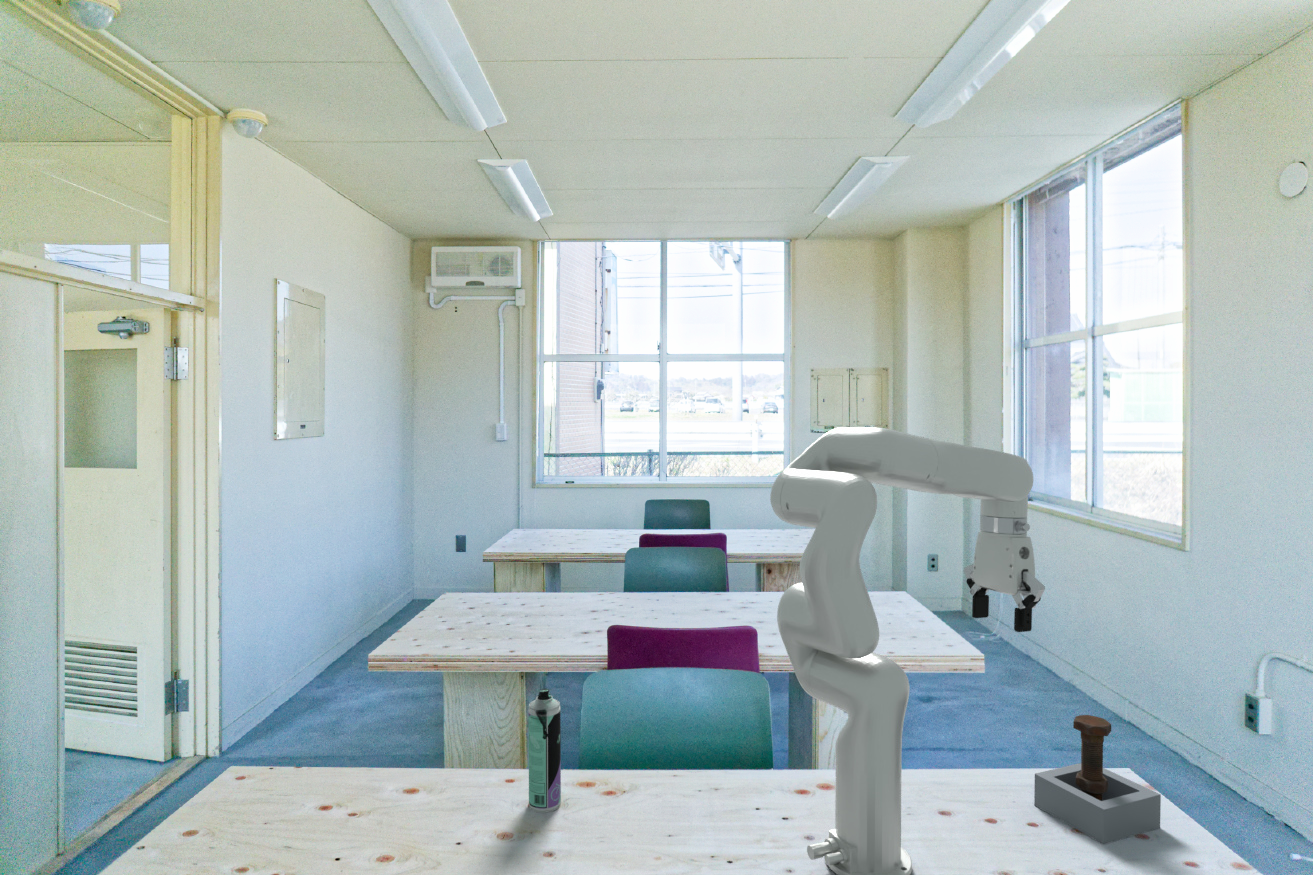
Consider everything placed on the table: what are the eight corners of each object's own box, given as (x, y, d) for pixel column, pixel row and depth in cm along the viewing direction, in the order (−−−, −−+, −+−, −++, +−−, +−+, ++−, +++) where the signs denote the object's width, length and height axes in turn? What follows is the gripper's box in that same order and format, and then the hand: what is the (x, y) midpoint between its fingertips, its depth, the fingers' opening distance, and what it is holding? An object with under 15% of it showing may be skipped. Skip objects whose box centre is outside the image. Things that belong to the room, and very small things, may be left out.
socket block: (1103, 844, 119) (1103, 809, 118) (1034, 805, 131) (1034, 773, 131) (1160, 827, 123) (1160, 794, 123) (1088, 791, 135) (1088, 761, 135)
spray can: (564, 809, 129) (563, 693, 129) (532, 815, 127) (532, 697, 127) (556, 794, 135) (556, 682, 134) (525, 800, 133) (525, 686, 132)
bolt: (1104, 803, 129) (1105, 716, 129) (1116, 818, 124) (1117, 727, 124) (1067, 799, 131) (1068, 713, 130) (1077, 814, 126) (1078, 724, 125)
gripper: (1061, 532, 125) (1058, 635, 125) (983, 520, 142) (981, 611, 142) (1025, 533, 123) (1023, 638, 123) (951, 521, 139) (948, 613, 139)
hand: (1000, 624), depth 132 cm, fingers open, 9 cm apart
